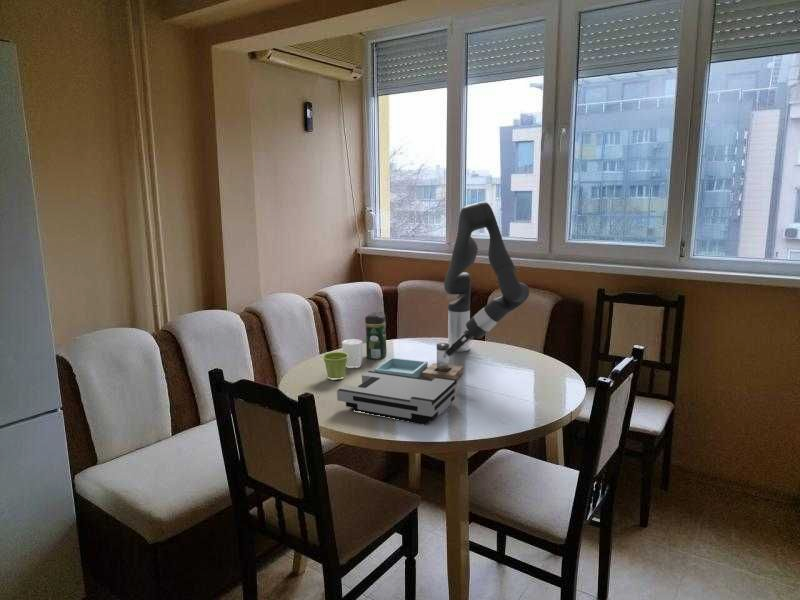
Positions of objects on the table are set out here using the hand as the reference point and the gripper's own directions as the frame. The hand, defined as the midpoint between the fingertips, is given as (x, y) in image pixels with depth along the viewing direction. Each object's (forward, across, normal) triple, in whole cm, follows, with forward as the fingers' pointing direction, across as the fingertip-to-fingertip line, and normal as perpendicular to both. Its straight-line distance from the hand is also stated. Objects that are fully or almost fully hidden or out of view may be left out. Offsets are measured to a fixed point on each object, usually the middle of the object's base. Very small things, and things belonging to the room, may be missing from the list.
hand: (451, 351), depth 200 cm
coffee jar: (+33, -14, -19) cm, 41 cm away
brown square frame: (+9, 0, +5) cm, 10 cm away
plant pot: (+35, +16, -21) cm, 44 cm away
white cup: (+36, +1, -21) cm, 41 cm away
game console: (+12, +33, +2) cm, 35 cm away
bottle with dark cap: (+9, 0, +5) cm, 10 cm away
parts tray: (+20, +5, -6) cm, 21 cm away
